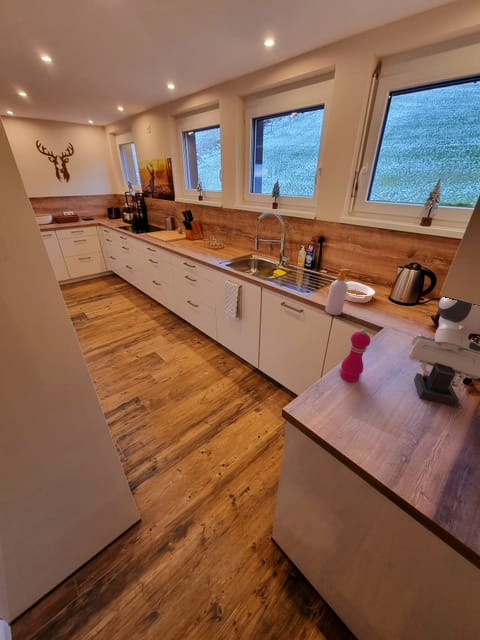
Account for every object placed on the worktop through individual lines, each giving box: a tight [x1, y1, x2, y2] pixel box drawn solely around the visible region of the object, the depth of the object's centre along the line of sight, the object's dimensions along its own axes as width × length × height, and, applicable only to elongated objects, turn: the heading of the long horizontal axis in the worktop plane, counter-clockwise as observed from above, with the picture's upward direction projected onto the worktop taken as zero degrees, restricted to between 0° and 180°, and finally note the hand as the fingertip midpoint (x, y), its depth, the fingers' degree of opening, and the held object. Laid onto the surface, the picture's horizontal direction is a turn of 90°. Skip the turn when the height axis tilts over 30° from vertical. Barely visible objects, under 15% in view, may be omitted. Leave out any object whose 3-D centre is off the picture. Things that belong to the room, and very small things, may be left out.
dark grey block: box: [425, 362, 457, 394], centre depth 87 cm, size 5×5×10 cm
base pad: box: [413, 372, 459, 408], centre depth 89 cm, size 10×10×3 cm
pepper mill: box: [340, 328, 371, 383], centre depth 91 cm, size 7×7×20 cm
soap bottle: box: [324, 268, 354, 316], centre depth 137 cm, size 9×9×24 cm
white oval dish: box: [345, 280, 376, 303], centre depth 162 cm, size 29×22×5 cm
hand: (439, 381), depth 86 cm, fingers open, 7 cm apart
